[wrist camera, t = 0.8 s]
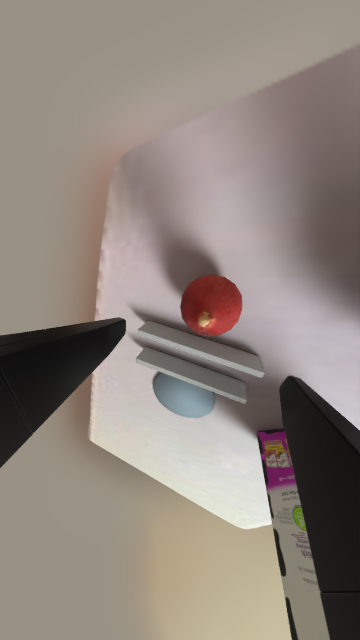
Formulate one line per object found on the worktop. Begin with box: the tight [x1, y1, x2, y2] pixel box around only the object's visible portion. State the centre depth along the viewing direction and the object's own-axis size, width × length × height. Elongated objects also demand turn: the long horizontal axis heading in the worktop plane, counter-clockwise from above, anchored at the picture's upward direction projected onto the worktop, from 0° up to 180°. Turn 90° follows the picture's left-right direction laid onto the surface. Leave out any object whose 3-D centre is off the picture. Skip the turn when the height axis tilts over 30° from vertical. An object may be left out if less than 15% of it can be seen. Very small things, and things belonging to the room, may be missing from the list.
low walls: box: [136, 320, 265, 404], centre depth 21 cm, size 16×6×3 cm, turn 79°
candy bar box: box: [257, 429, 330, 640], centre depth 16 cm, size 11×5×16 cm, turn 127°
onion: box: [180, 275, 242, 337], centre depth 14 cm, size 6×6×8 cm
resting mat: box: [153, 373, 215, 418], centre depth 26 cm, size 11×11×1 cm
